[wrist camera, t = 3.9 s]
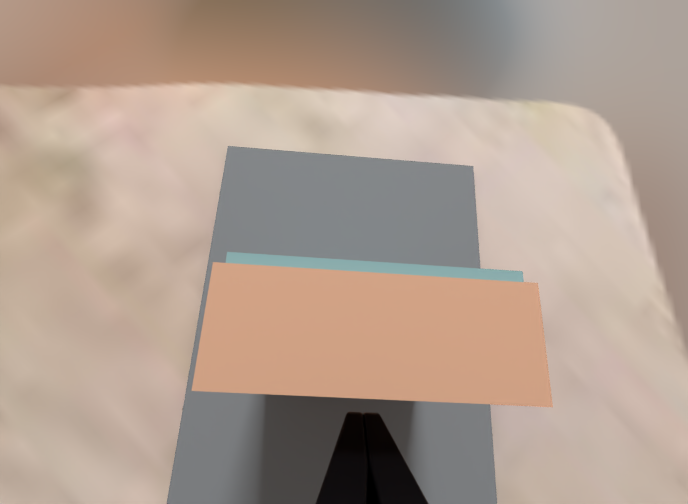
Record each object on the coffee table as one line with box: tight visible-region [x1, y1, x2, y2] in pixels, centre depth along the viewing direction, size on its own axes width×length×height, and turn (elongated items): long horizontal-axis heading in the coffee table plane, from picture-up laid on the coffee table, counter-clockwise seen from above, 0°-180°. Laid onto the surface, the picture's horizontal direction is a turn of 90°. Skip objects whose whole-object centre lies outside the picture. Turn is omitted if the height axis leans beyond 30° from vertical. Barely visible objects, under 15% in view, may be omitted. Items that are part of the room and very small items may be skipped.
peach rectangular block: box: [192, 252, 553, 407], centre depth 12 cm, size 3×7×10 cm, turn 87°
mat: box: [167, 146, 497, 504], centre depth 17 cm, size 18×14×1 cm
